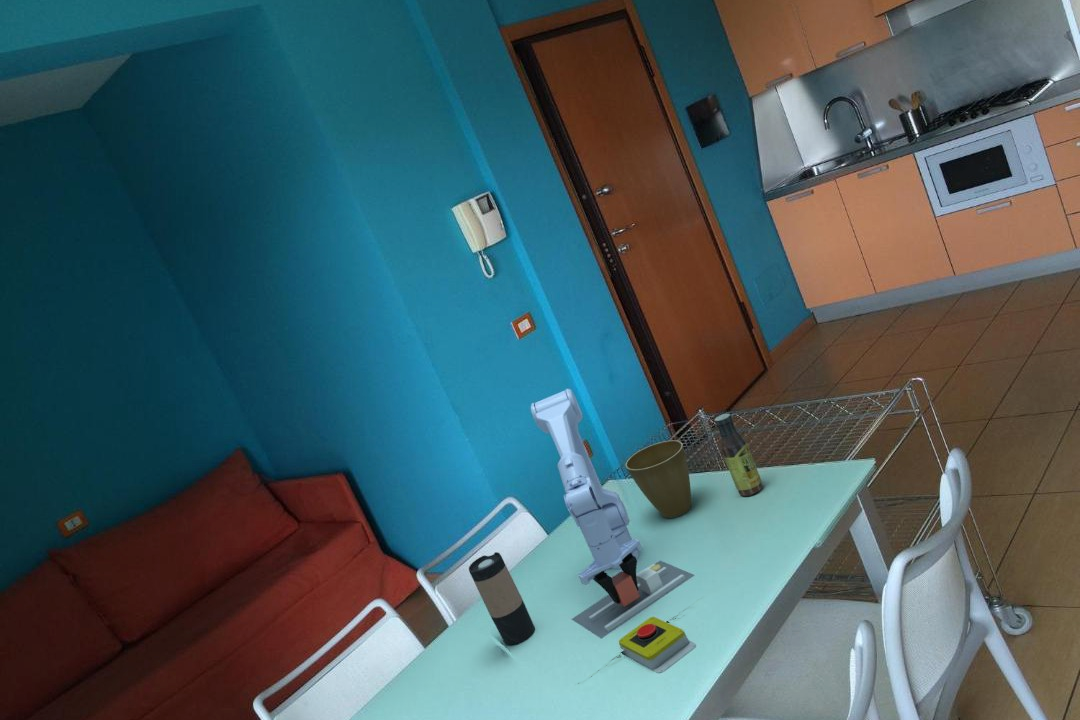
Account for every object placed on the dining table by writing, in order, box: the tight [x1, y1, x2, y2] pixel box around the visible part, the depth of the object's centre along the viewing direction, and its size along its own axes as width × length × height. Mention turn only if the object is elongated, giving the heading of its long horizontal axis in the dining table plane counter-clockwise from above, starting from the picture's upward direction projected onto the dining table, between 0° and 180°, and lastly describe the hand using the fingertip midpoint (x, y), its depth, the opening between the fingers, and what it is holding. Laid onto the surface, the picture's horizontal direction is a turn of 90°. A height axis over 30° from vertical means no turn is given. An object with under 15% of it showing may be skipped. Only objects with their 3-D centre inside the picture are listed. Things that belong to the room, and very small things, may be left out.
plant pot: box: [625, 439, 692, 519], centre depth 226 cm, size 15×15×16 cm
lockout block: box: [611, 570, 640, 607], centre depth 188 cm, size 4×4×5 cm
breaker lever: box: [636, 567, 663, 595], centre depth 191 cm, size 4×3×4 cm
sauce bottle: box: [714, 413, 763, 497], centre depth 219 cm, size 6×6×20 cm
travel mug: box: [468, 552, 536, 647], centre depth 196 cm, size 8×8×20 cm
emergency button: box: [618, 616, 697, 674], centre depth 172 cm, size 9×4×15 cm
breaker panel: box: [571, 560, 695, 639], centre depth 192 cm, size 14×24×2 cm, turn 114°
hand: (626, 595), depth 189 cm, fingers closed on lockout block, 4 cm apart
